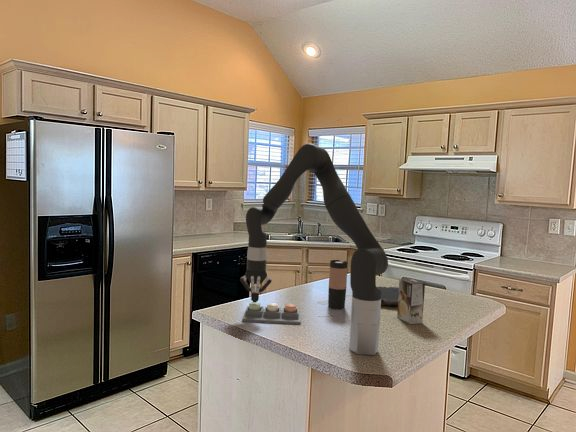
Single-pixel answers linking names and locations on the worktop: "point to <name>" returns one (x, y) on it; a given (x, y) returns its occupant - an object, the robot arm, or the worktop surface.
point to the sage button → (254, 306)
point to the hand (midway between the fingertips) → (254, 301)
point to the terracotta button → (290, 308)
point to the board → (389, 296)
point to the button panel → (272, 316)
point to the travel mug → (337, 284)
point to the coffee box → (411, 301)
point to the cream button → (272, 307)
